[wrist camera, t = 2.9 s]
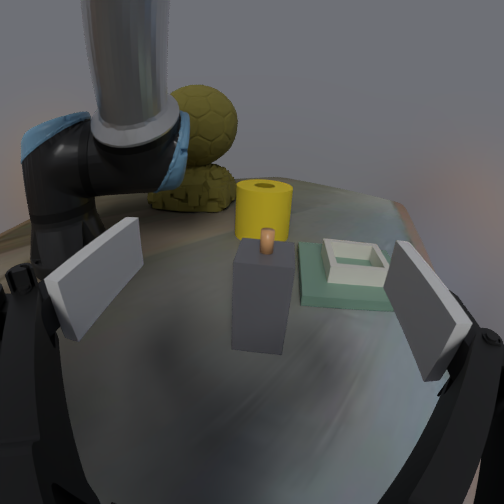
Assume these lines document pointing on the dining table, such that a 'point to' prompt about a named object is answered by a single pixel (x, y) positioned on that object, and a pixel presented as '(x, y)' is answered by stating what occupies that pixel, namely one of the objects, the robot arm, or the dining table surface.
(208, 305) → the dining table surface
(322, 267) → the board
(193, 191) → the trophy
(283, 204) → the yellow hollow cylinder
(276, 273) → the plug
